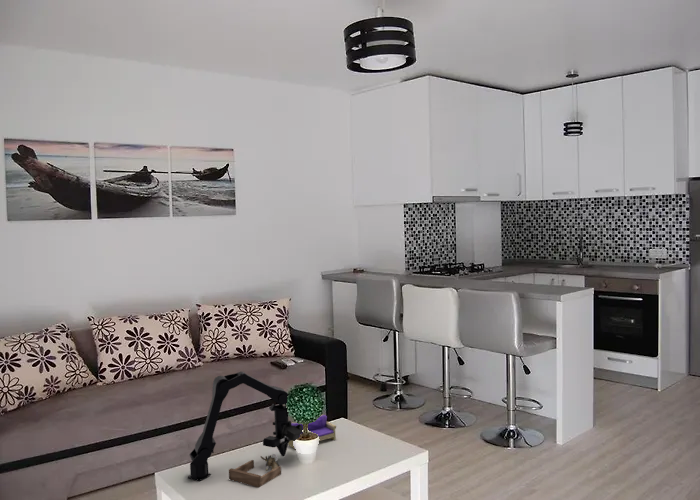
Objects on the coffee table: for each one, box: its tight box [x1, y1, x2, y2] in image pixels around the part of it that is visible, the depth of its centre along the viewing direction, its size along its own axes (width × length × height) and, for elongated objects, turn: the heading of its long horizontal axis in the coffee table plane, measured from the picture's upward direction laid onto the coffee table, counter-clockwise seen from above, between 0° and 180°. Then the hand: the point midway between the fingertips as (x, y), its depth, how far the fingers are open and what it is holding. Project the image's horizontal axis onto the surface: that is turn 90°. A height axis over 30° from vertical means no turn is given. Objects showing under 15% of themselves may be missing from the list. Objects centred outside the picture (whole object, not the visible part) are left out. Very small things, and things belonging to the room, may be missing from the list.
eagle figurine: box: [260, 453, 280, 471], centre depth 246 cm, size 8×7×9 cm
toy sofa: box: [288, 414, 337, 449], centre depth 275 cm, size 21×9×10 cm, turn 123°
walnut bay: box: [228, 459, 282, 488], centre depth 240 cm, size 14×15×4 cm
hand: (283, 456), depth 255 cm, fingers closed
